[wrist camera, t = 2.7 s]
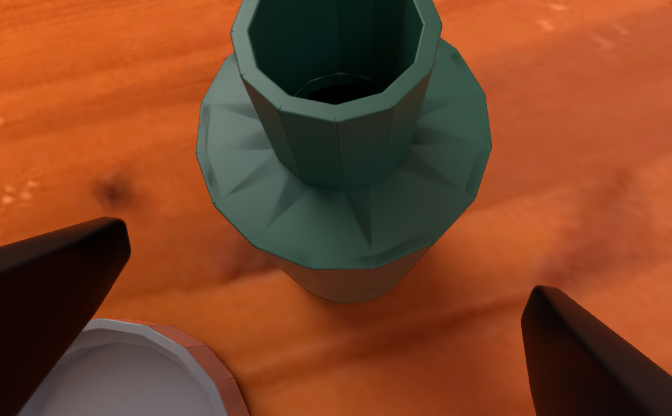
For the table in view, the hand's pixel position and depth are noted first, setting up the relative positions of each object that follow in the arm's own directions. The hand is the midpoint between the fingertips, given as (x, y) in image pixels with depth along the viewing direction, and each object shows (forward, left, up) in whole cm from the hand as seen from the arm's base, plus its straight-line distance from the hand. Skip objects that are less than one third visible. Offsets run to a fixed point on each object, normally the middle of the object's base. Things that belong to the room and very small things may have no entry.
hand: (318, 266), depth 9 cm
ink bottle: (+3, +2, -10) cm, 11 cm away
